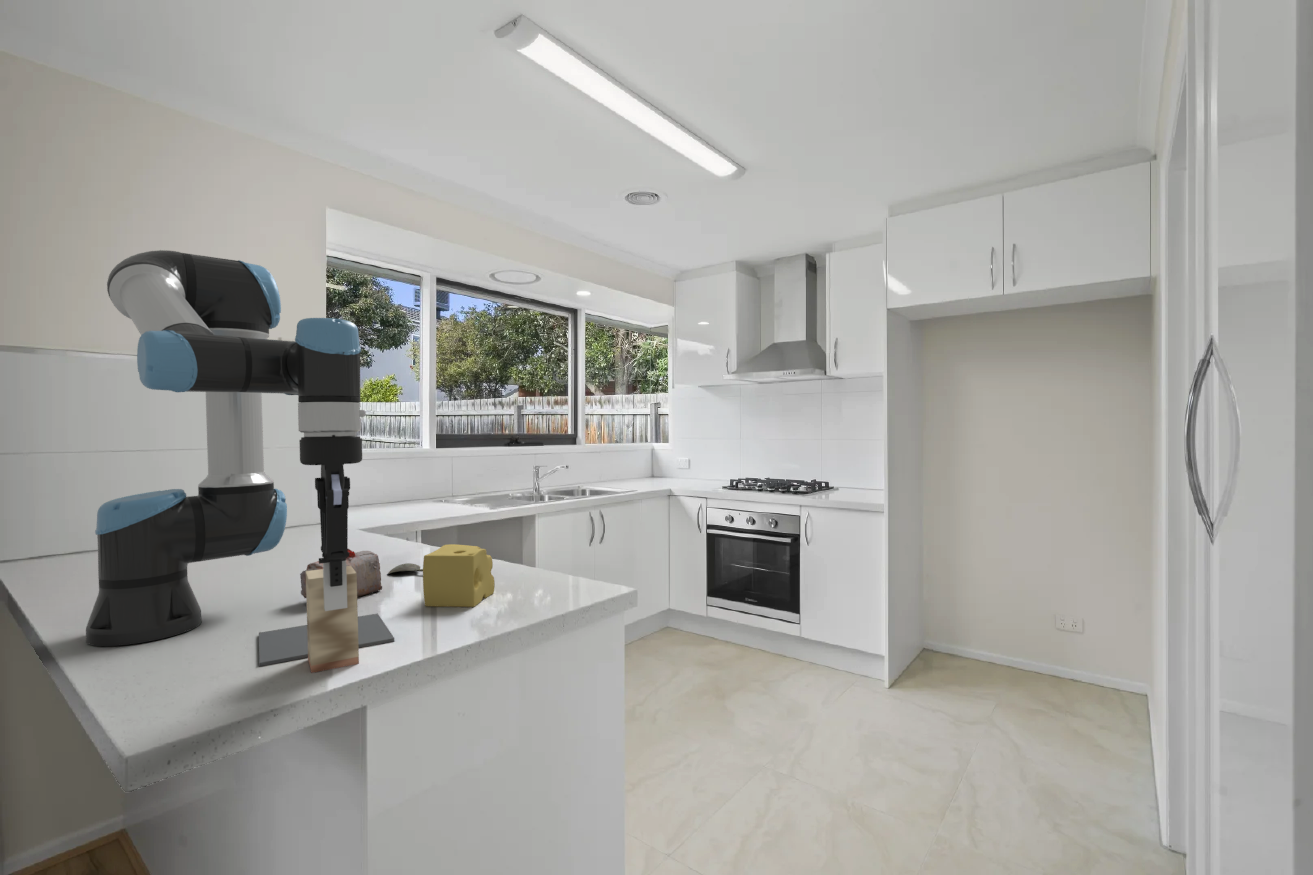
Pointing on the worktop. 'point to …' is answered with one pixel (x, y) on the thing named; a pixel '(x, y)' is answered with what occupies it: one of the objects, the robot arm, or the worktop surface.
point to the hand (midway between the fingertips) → (335, 607)
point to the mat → (295, 640)
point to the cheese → (457, 576)
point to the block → (331, 625)
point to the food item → (364, 567)
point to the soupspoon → (406, 568)
